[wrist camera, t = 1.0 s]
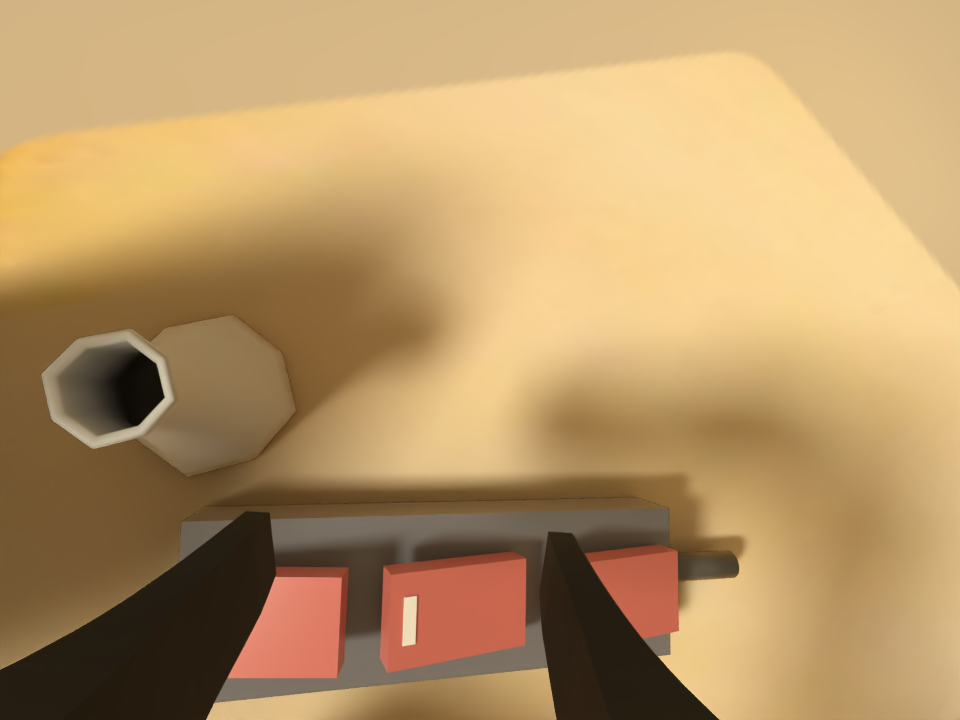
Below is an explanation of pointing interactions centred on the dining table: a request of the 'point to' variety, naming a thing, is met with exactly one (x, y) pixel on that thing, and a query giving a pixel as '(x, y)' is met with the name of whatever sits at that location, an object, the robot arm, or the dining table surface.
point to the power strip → (431, 536)
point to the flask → (174, 392)
